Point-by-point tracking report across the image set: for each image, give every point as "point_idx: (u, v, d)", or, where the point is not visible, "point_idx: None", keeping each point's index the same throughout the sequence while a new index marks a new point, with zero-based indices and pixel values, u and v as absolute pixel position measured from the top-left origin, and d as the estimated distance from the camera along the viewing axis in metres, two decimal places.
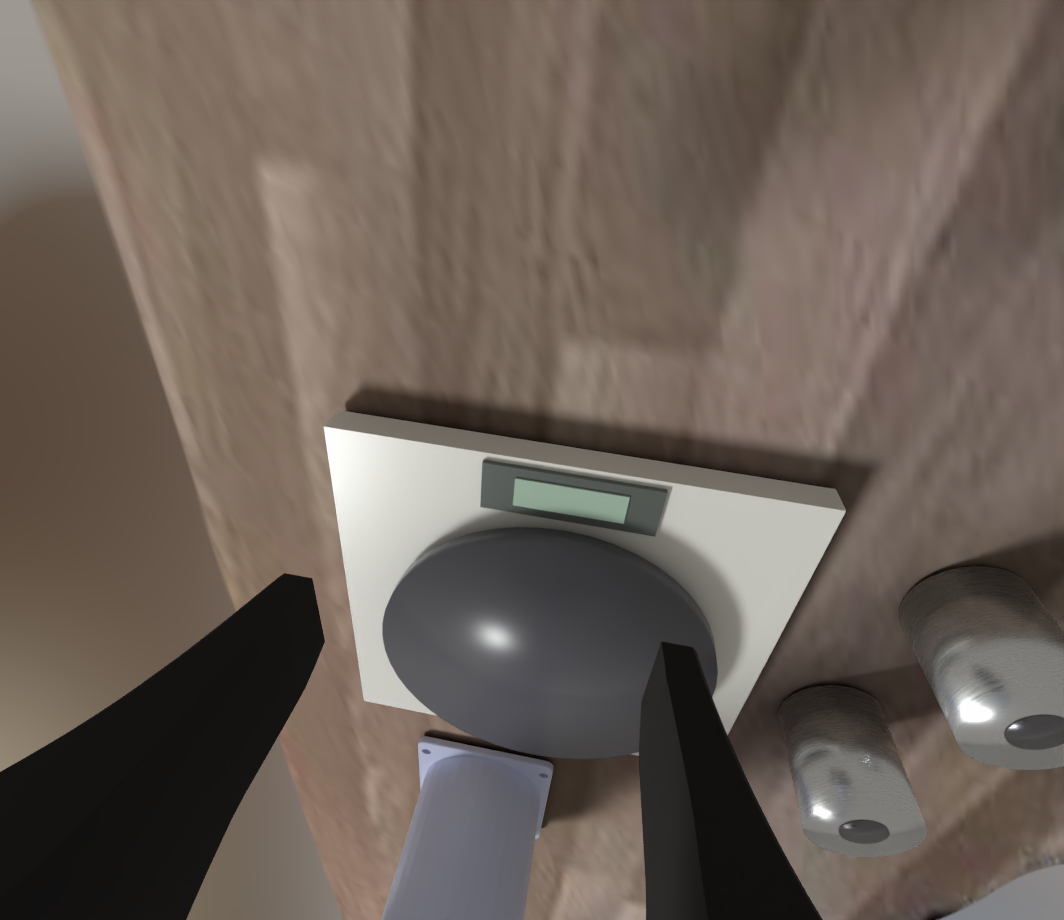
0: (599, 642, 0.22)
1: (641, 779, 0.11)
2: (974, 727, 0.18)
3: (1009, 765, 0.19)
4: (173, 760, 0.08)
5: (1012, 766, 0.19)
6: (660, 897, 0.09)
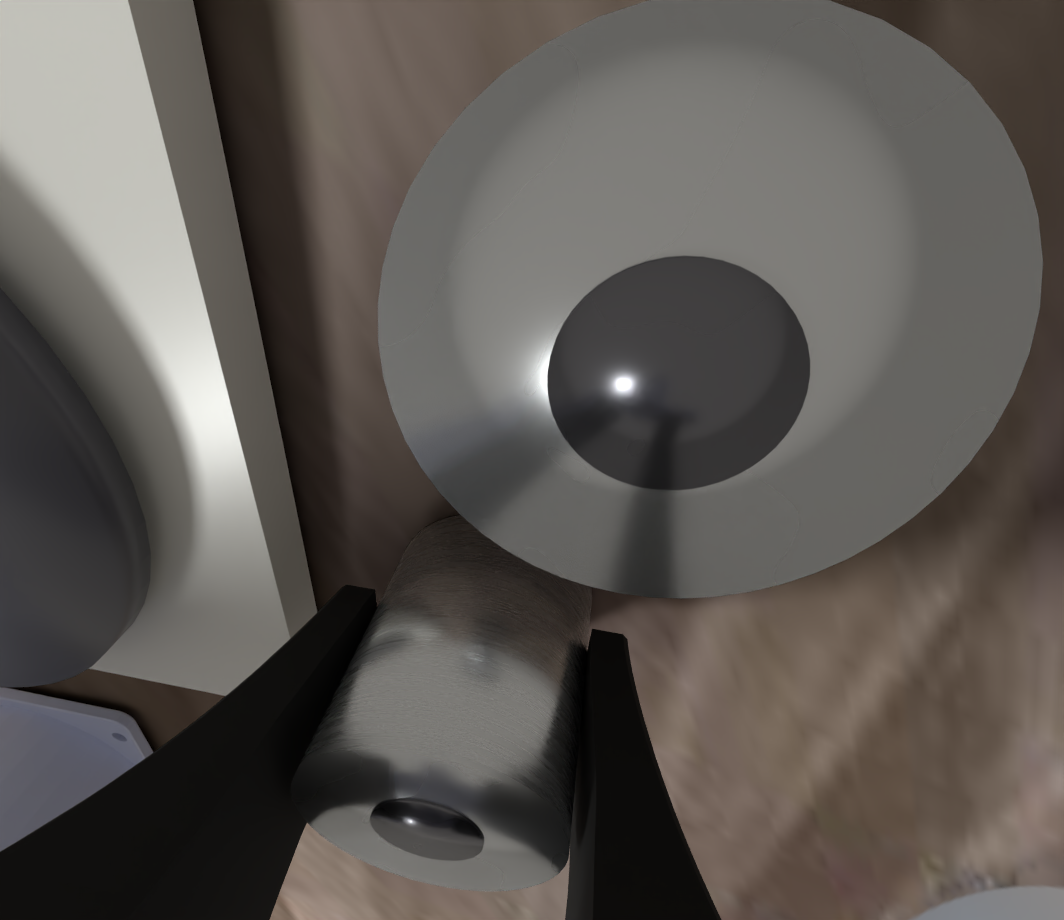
0: None
1: None
2: (442, 395, 0.04)
3: (648, 584, 0.05)
4: (259, 778, 0.08)
5: (668, 590, 0.05)
6: (574, 878, 0.09)
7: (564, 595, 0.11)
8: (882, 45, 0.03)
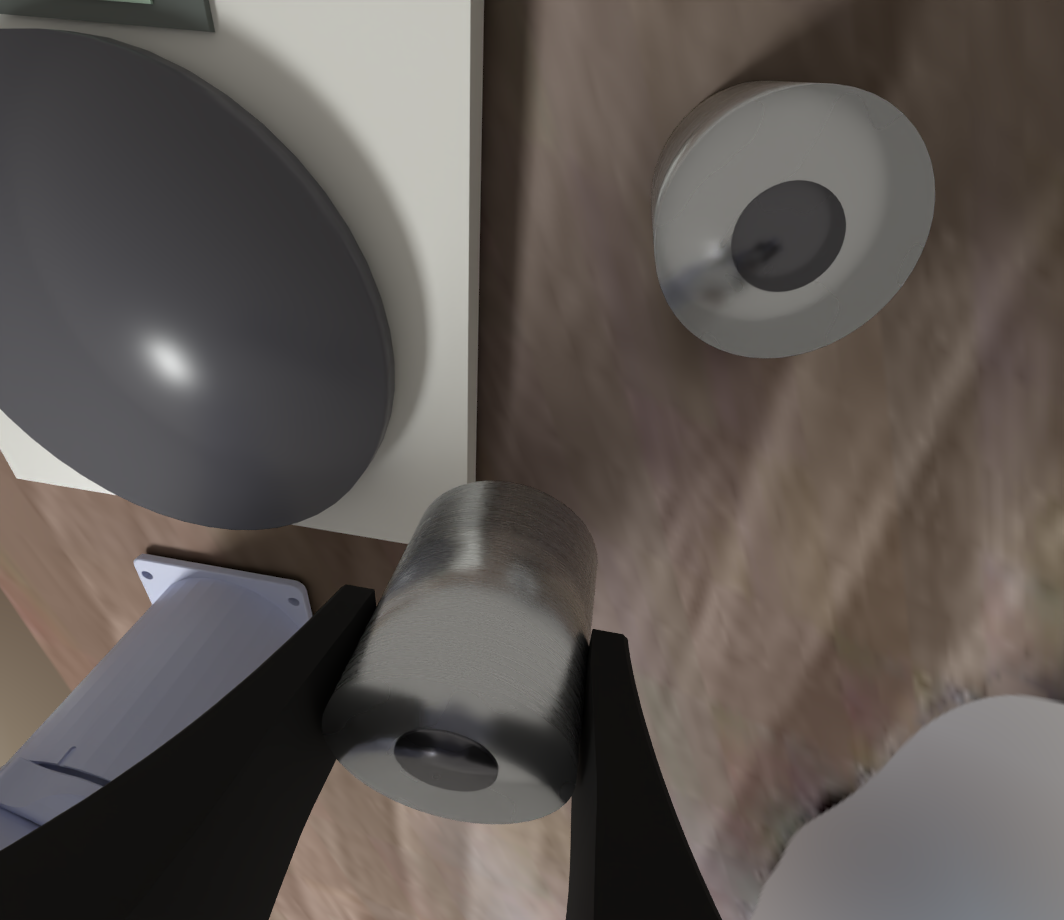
0: (190, 267, 0.14)
1: None
2: (680, 249, 0.10)
3: (763, 350, 0.11)
4: (258, 777, 0.08)
5: (772, 356, 0.11)
6: (575, 879, 0.09)
7: (572, 555, 0.12)
8: (873, 101, 0.08)
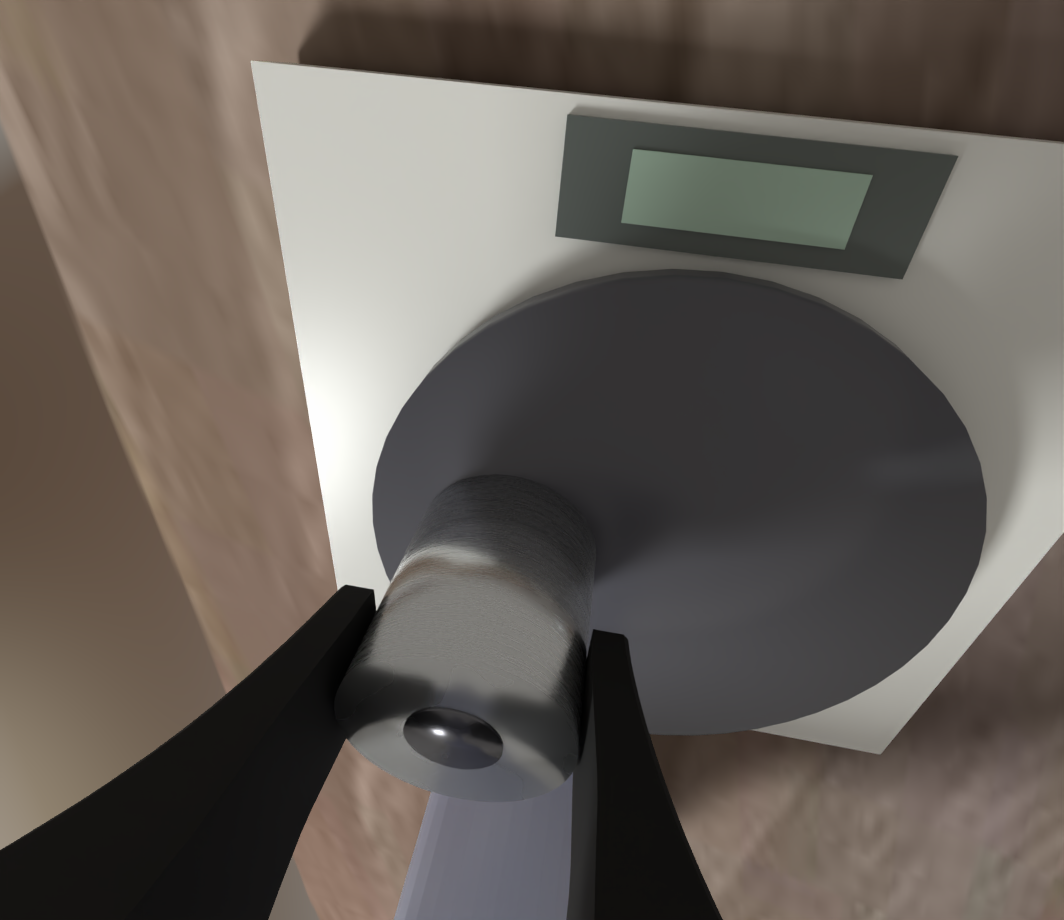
0: (762, 512, 0.12)
1: None
2: None
3: None
4: (257, 778, 0.08)
5: None
6: (576, 879, 0.09)
7: (568, 540, 0.12)
8: None
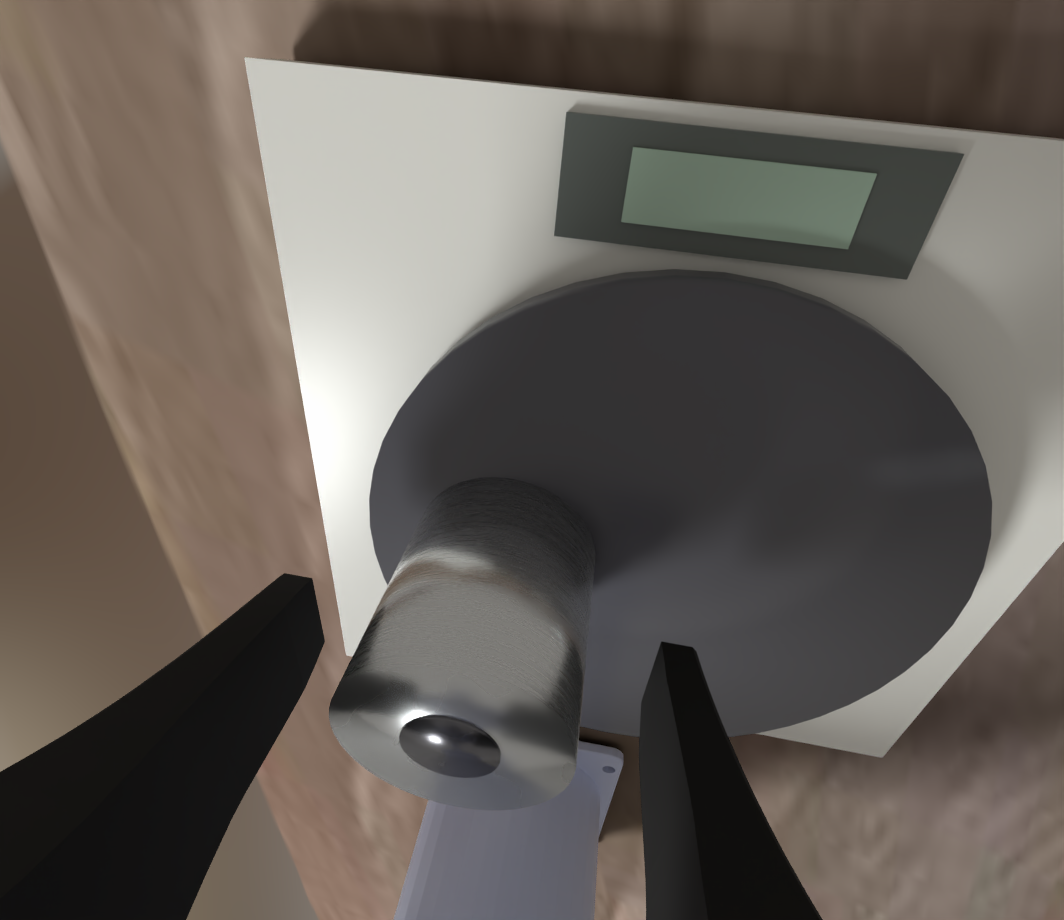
0: (763, 516, 0.12)
1: (641, 779, 0.11)
2: None
3: None
4: (173, 759, 0.08)
5: None
6: (660, 897, 0.09)
7: (567, 545, 0.12)
8: None
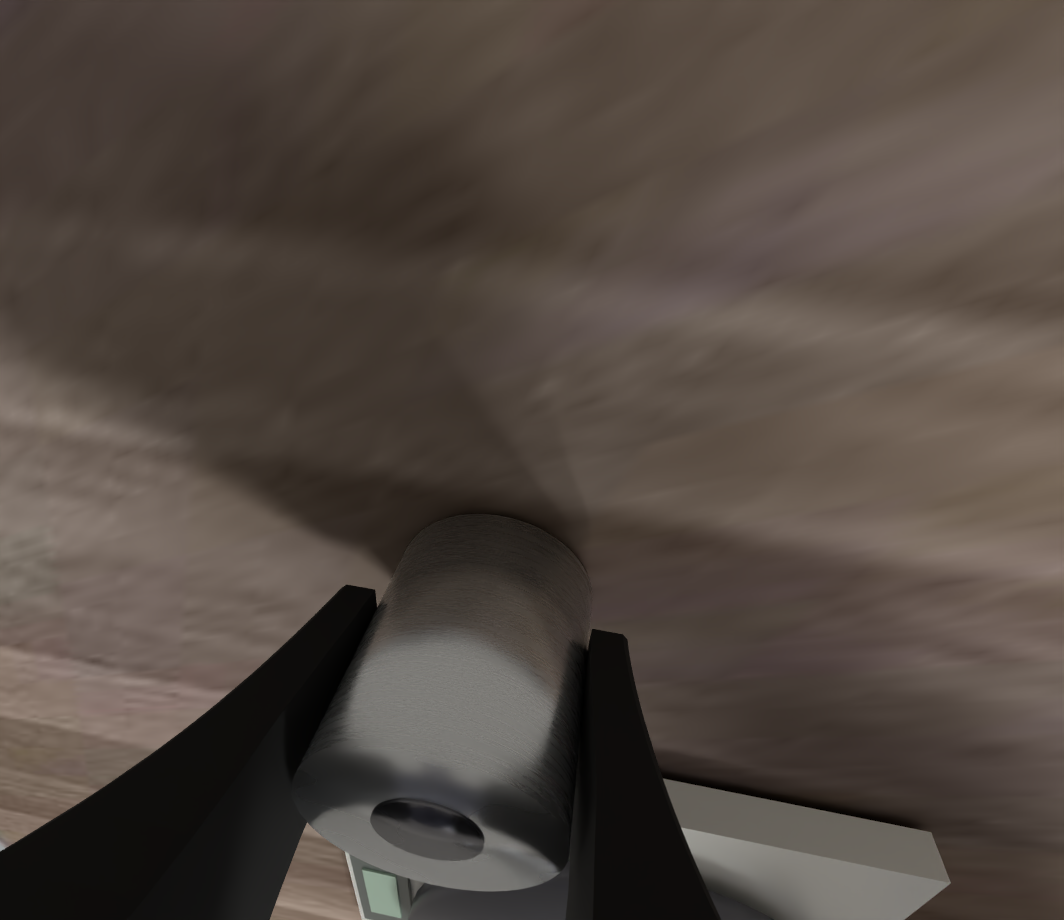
0: None
1: None
2: (451, 877, 0.10)
3: (559, 850, 0.08)
4: (259, 777, 0.08)
5: (569, 838, 0.08)
6: (575, 879, 0.09)
7: None
8: (297, 782, 0.09)
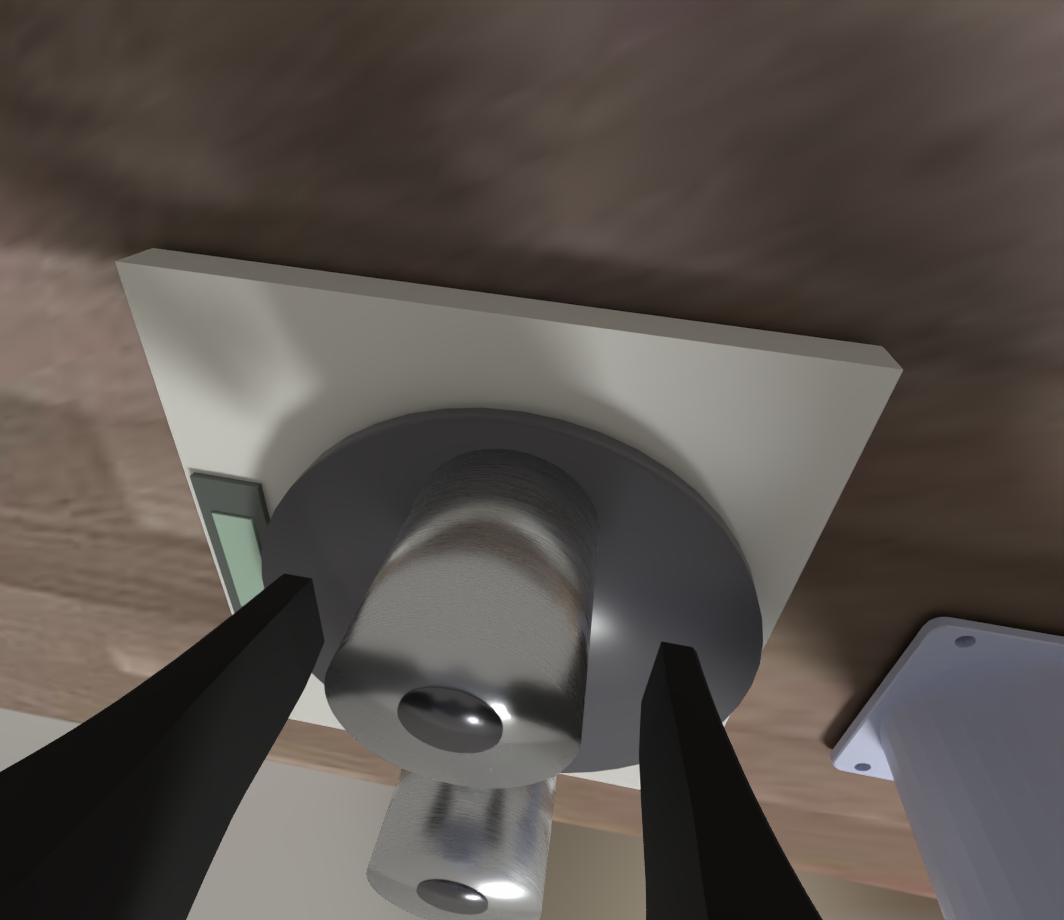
0: None
1: (641, 779, 0.11)
2: (480, 775, 0.10)
3: (571, 727, 0.09)
4: (173, 759, 0.08)
5: (579, 714, 0.09)
6: (660, 897, 0.09)
7: None
8: (329, 682, 0.09)
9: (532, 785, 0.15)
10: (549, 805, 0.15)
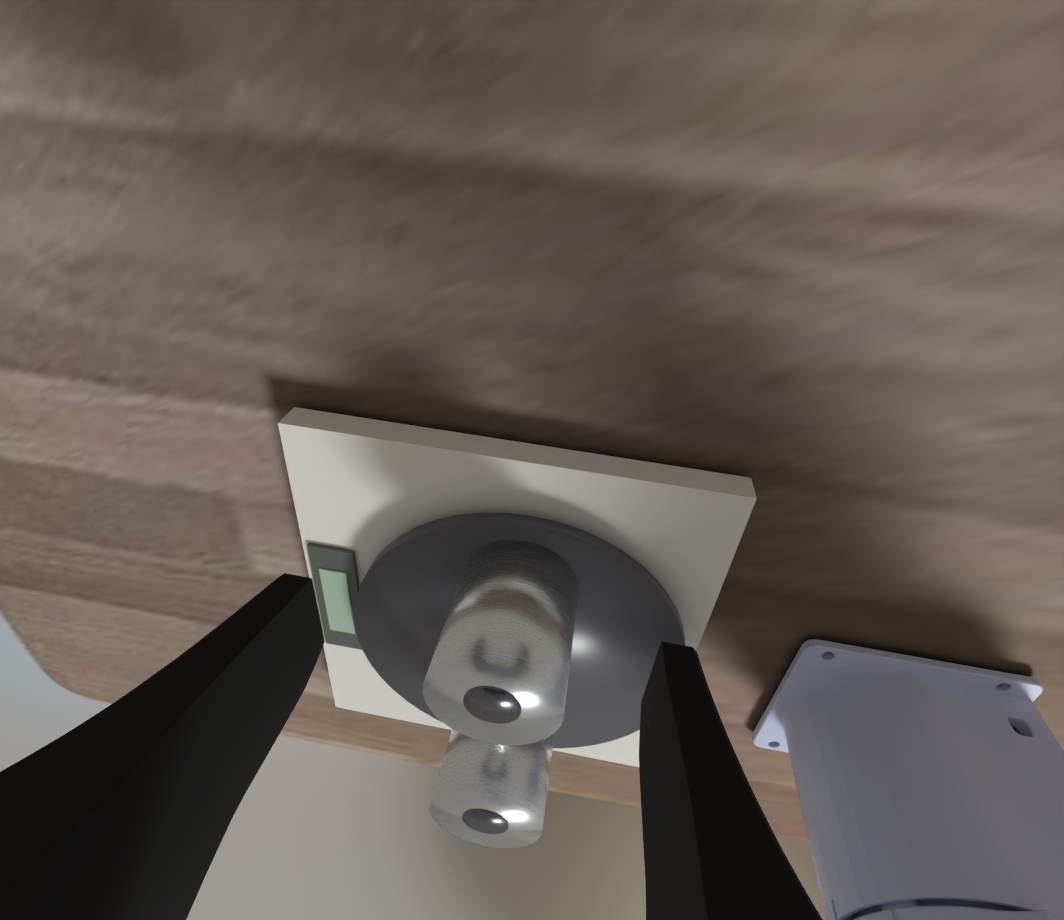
0: None
1: (641, 779, 0.11)
2: (507, 737, 0.18)
3: (558, 708, 0.17)
4: (173, 760, 0.08)
5: (563, 701, 0.17)
6: (660, 897, 0.09)
7: None
8: (426, 683, 0.17)
9: (536, 751, 0.22)
10: (547, 764, 0.23)
